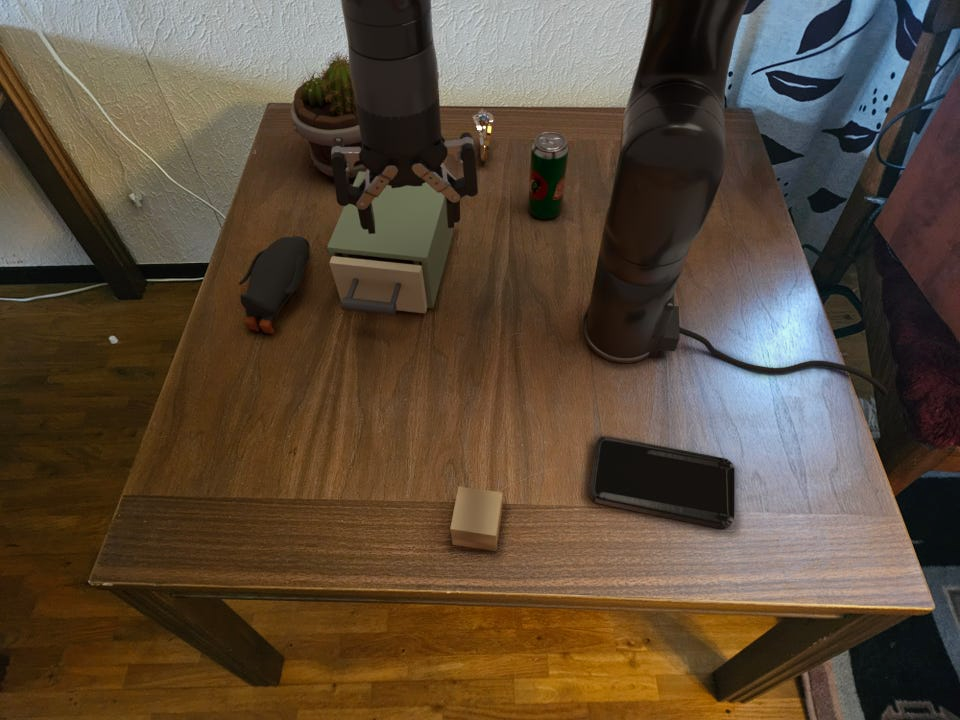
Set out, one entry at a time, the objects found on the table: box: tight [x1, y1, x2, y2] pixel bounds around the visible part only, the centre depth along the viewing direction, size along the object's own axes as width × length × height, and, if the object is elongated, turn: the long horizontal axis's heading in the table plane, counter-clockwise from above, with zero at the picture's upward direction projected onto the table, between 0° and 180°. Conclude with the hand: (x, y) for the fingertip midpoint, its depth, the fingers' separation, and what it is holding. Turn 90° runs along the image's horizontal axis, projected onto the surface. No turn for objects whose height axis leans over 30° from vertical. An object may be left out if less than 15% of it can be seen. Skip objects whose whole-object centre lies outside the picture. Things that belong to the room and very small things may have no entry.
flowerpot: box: [290, 51, 367, 181], centre depth 94 cm, size 14×15×20 cm
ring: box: [472, 108, 495, 162], centre depth 99 cm, size 7×3×8 cm, turn 178°
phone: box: [588, 435, 736, 530], centre depth 69 cm, size 8×1×15 cm
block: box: [449, 485, 504, 552], centre depth 65 cm, size 5×5×5 cm
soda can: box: [527, 131, 570, 220], centre depth 90 cm, size 5×5×12 cm
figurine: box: [238, 235, 311, 335], centre depth 83 cm, size 7×10×15 cm
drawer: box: [328, 253, 428, 316], centre depth 83 cm, size 18×11×8 cm, turn 171°
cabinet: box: [326, 171, 454, 309], centre depth 85 cm, size 15×13×10 cm
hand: (411, 225), depth 69 cm, fingers open, 8 cm apart
